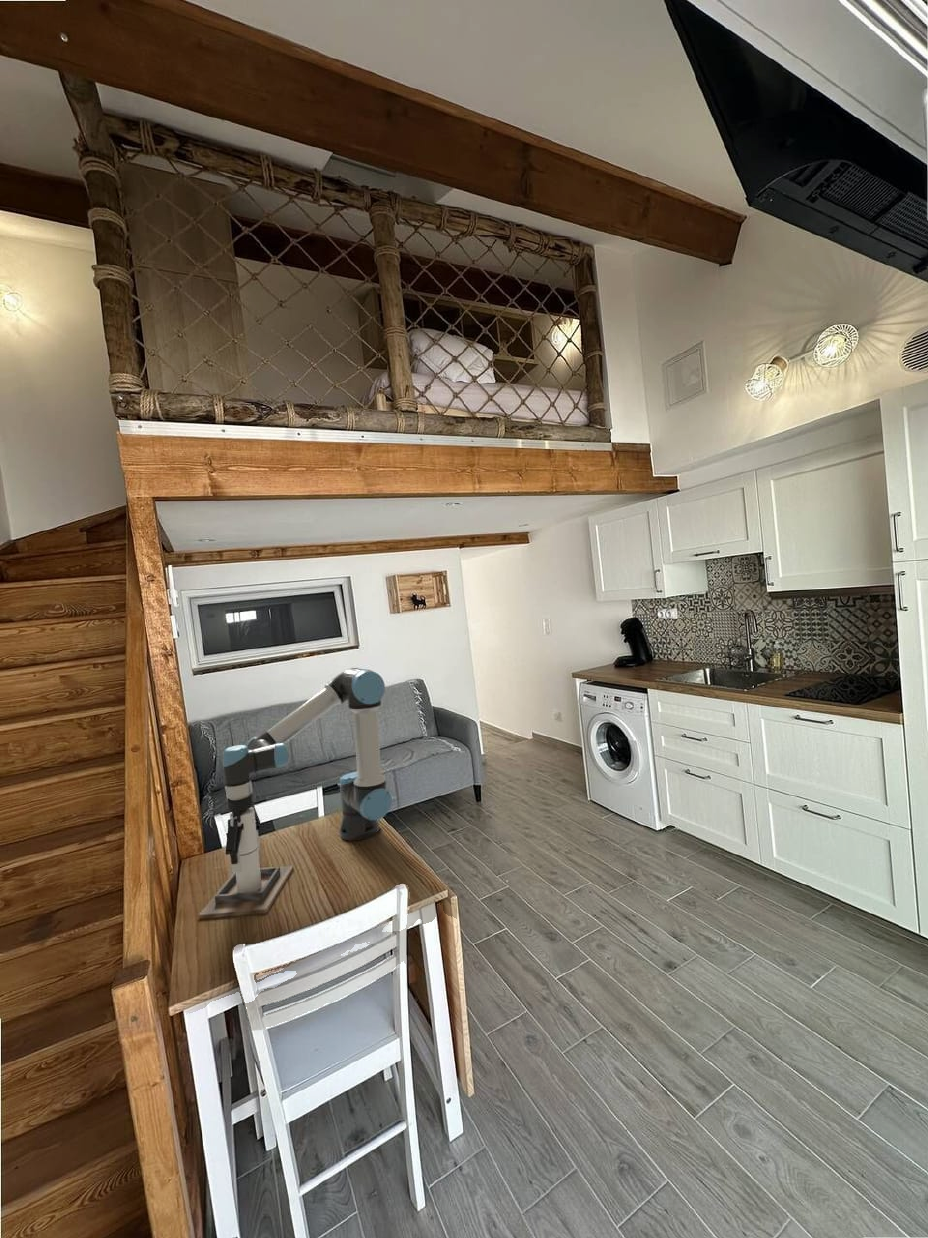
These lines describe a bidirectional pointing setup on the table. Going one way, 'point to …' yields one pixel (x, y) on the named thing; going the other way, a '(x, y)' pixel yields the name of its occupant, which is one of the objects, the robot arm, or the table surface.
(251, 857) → the cylindrical container
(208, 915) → the board
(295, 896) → the table surface
